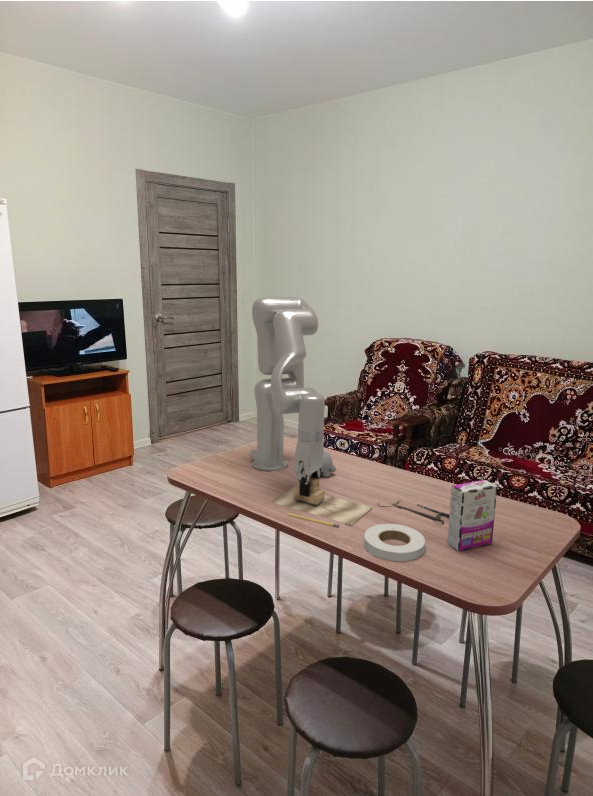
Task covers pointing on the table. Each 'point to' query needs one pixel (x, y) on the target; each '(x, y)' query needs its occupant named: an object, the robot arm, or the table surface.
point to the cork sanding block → (311, 493)
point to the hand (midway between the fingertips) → (309, 491)
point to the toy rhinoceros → (327, 466)
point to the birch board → (325, 507)
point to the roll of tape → (394, 552)
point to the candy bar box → (472, 515)
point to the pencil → (313, 520)
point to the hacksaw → (422, 513)
